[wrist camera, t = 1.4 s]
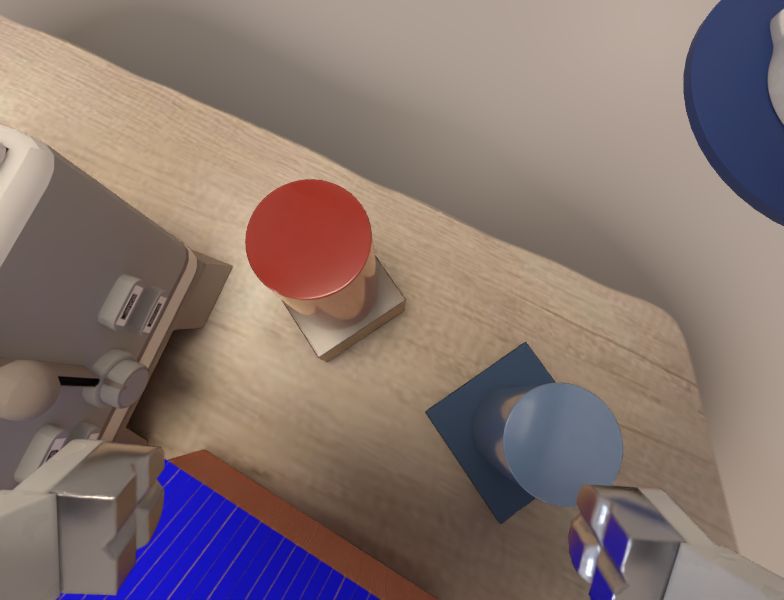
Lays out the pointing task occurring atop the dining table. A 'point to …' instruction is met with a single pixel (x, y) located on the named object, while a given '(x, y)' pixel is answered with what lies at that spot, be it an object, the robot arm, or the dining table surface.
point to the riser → (339, 340)
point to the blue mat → (457, 426)
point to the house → (246, 547)
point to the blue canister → (549, 439)
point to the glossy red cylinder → (315, 252)
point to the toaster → (81, 305)
